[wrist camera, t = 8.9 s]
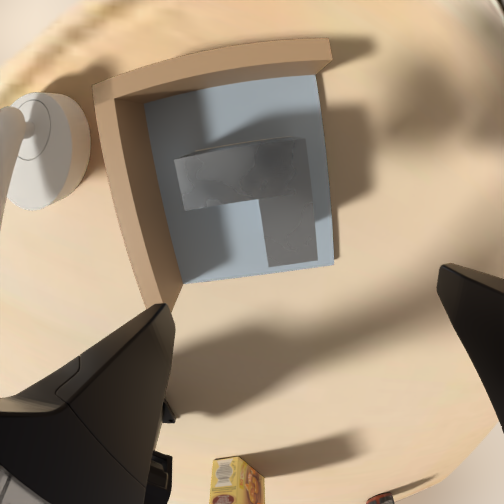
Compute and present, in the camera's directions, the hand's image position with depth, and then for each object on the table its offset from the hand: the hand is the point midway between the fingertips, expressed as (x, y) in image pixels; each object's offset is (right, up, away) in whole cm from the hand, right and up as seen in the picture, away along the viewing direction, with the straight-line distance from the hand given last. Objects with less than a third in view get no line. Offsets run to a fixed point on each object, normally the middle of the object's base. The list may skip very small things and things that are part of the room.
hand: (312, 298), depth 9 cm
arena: (-3, +6, +10) cm, 12 cm away
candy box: (-3, -29, +25) cm, 38 cm away
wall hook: (-18, +9, +9) cm, 22 cm away
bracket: (-2, +5, +10) cm, 11 cm away
